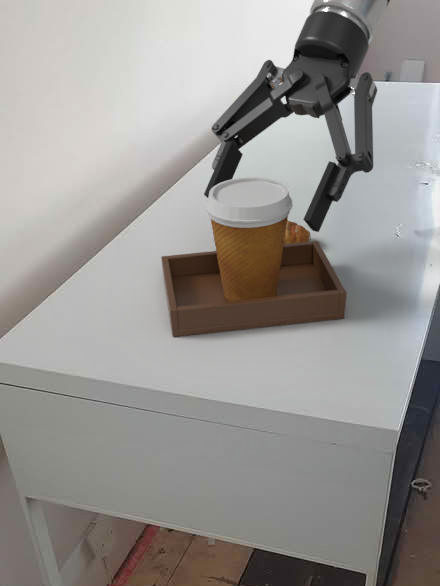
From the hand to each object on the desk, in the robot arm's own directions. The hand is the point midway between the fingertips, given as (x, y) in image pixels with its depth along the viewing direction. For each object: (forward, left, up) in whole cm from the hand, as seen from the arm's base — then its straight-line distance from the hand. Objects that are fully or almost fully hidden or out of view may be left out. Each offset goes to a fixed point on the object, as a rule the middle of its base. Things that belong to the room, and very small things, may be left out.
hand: (259, 213), depth 80 cm
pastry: (-4, -13, -10) cm, 17 cm away
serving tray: (+1, +1, -10) cm, 10 cm away
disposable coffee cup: (+1, +1, -9) cm, 10 cm away
